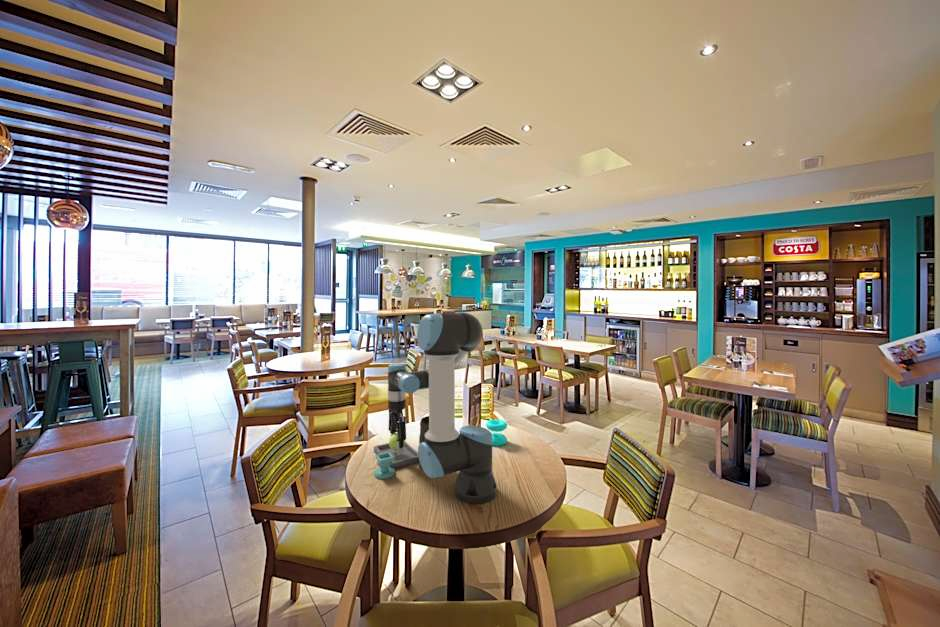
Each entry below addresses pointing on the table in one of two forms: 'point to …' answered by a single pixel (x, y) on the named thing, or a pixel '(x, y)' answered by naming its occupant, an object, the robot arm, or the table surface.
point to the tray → (399, 460)
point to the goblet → (384, 466)
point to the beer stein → (423, 432)
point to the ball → (394, 442)
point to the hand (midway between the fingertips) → (397, 451)
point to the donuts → (497, 426)
